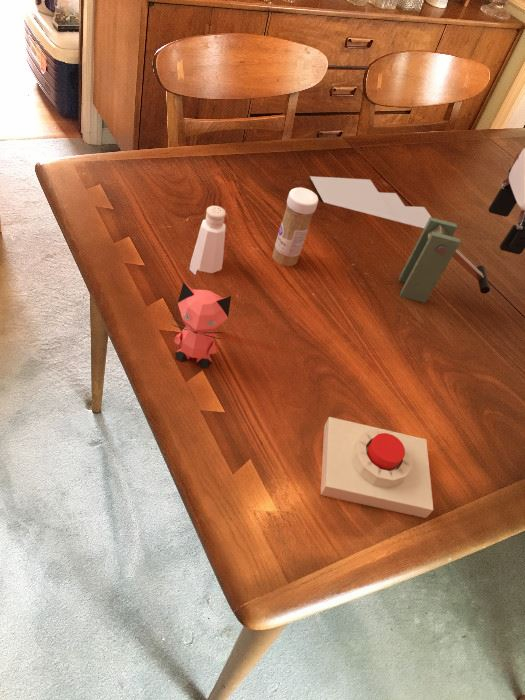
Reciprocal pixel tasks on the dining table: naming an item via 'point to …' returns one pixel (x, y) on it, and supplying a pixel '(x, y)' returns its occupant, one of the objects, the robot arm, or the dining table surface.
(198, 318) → the cat figurine
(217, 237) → the pepper shaker
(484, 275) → the lever
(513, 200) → the robot arm
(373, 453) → the button
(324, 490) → the control block
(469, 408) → the dining table surface
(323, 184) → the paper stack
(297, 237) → the sprinkles bottle
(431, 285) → the bracket
